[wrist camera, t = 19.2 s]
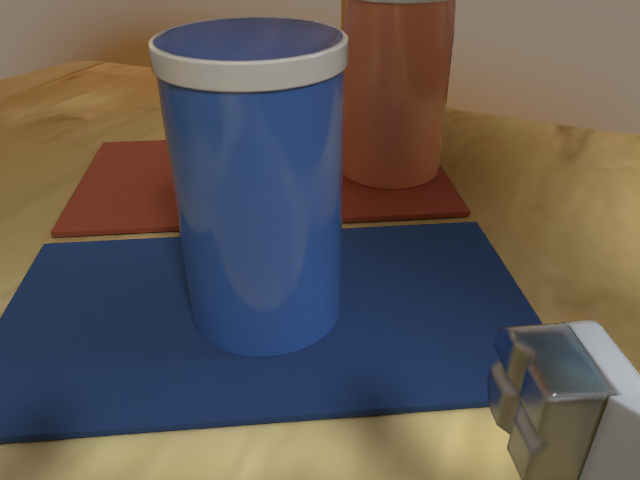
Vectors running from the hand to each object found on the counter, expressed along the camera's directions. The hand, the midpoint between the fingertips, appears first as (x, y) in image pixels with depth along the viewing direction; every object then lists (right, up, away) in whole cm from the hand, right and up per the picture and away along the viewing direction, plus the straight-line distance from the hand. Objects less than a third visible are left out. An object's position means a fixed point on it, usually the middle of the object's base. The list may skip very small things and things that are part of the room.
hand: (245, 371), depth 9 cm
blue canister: (-1, 0, +13) cm, 13 cm away
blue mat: (-1, -1, +13) cm, 13 cm away
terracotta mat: (-2, +6, +24) cm, 24 cm away
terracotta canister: (+5, +6, +24) cm, 25 cm away
